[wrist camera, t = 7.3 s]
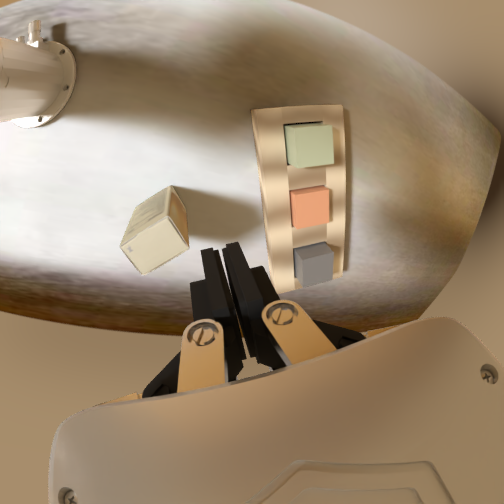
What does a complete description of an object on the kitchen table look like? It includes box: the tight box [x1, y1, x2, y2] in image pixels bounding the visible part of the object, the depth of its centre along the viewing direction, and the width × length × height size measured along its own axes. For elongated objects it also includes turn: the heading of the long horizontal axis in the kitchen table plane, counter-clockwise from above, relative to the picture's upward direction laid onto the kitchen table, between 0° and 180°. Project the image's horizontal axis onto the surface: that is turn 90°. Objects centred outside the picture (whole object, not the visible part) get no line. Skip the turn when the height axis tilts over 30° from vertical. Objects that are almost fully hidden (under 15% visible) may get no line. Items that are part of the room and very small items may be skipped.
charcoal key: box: [293, 242, 334, 288], centre depth 42 cm, size 5×5×4 cm
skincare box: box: [120, 185, 189, 276], centre depth 31 cm, size 6×4×12 cm
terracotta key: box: [289, 185, 329, 229], centre depth 39 cm, size 5×5×4 cm
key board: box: [251, 104, 346, 294], centre depth 39 cm, size 28×12×3 cm, turn 7°
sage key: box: [283, 123, 334, 168], centre depth 33 cm, size 5×5×4 cm
